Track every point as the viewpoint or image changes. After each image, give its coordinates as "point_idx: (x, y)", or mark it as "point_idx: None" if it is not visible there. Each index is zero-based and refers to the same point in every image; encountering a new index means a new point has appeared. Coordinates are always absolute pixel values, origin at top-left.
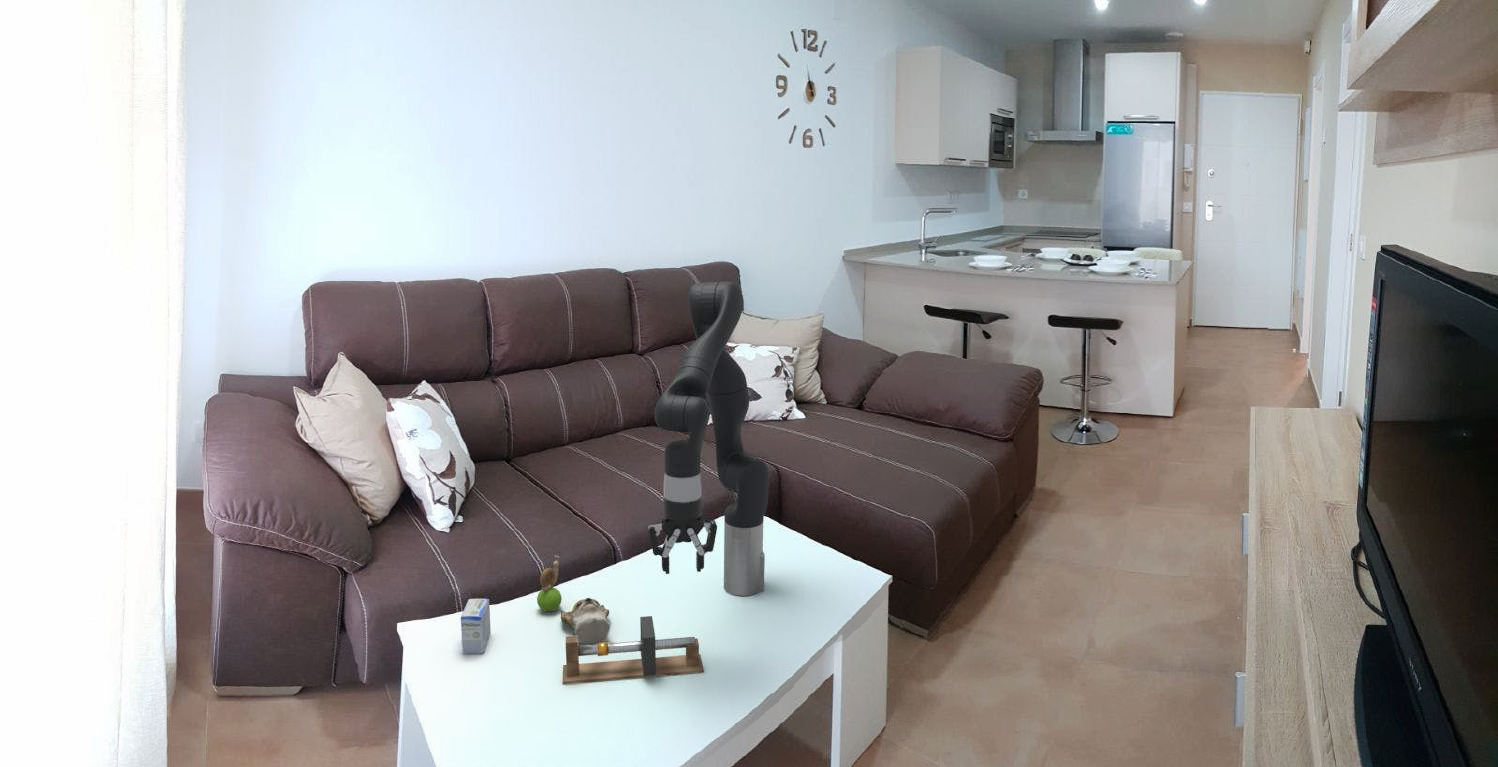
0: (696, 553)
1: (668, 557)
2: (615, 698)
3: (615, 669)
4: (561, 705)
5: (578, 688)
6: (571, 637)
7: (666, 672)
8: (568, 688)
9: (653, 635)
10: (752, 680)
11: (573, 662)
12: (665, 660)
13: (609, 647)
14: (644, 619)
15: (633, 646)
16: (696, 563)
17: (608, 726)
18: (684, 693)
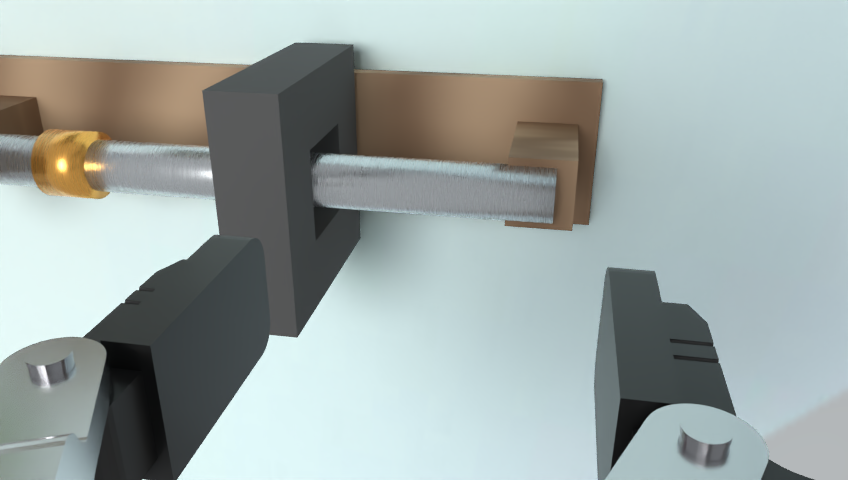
0: (615, 407)
1: (161, 467)
2: None
3: (189, 137)
4: (32, 303)
5: (68, 216)
6: None
7: None
8: (32, 208)
9: (287, 319)
10: (796, 324)
11: None
12: (416, 107)
13: (100, 189)
14: (230, 130)
15: None
16: (608, 311)
17: (202, 442)
18: (474, 340)
